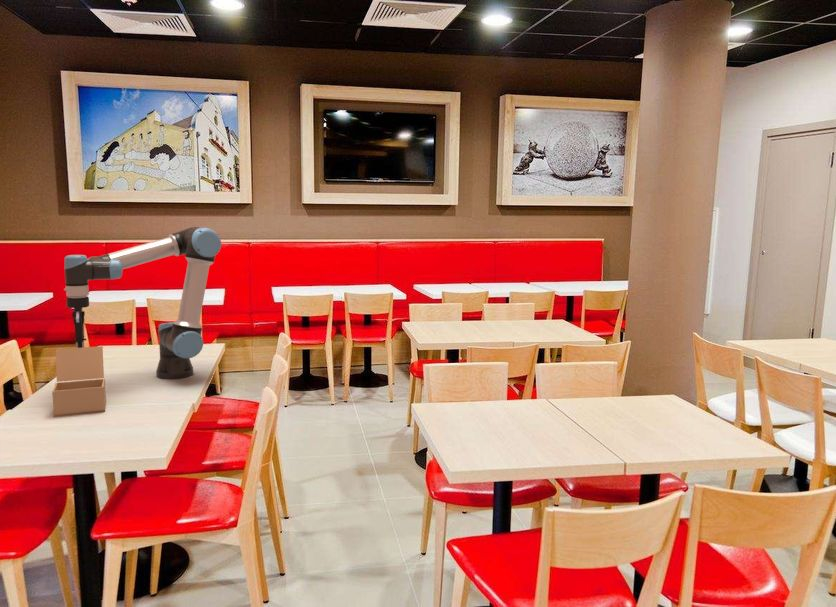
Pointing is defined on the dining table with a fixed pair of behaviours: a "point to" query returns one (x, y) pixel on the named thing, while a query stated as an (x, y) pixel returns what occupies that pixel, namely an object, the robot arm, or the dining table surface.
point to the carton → (79, 397)
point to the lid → (79, 363)
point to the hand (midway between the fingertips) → (81, 358)
